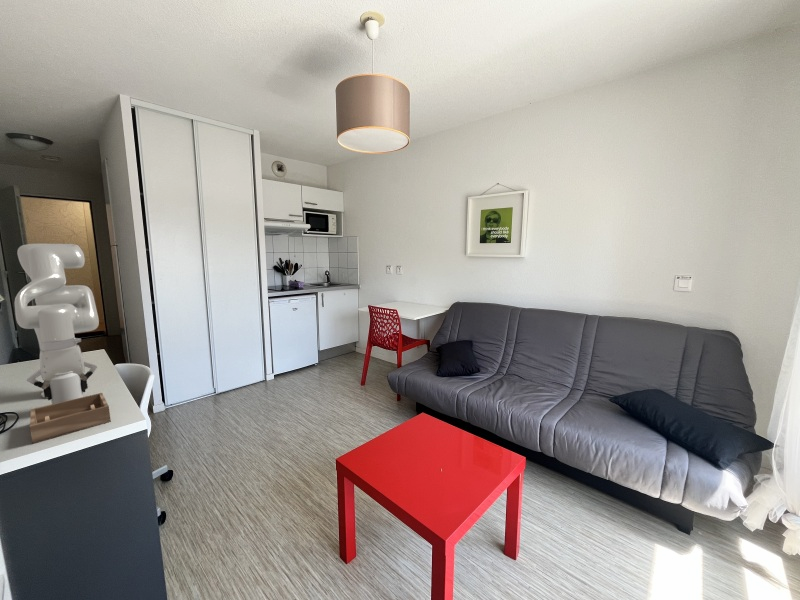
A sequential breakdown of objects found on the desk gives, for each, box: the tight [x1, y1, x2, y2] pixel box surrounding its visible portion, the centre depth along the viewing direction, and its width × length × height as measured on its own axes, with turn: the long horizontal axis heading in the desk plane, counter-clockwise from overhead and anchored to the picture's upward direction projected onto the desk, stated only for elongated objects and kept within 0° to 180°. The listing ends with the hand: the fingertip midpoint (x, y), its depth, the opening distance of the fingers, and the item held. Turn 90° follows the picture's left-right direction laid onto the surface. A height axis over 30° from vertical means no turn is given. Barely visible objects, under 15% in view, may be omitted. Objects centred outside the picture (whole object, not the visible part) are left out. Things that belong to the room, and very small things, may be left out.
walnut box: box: [29, 392, 112, 445], centre depth 99 cm, size 16×16×5 cm
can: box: [49, 371, 84, 404], centre depth 110 cm, size 8×8×12 cm
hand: (67, 394), depth 110 cm, fingers closed on can, 7 cm apart
